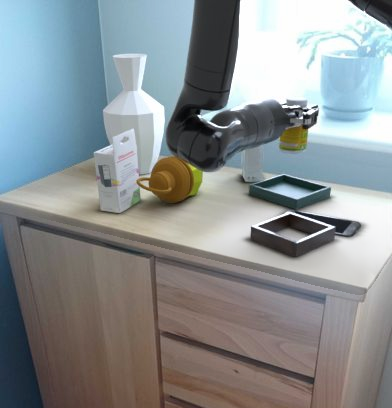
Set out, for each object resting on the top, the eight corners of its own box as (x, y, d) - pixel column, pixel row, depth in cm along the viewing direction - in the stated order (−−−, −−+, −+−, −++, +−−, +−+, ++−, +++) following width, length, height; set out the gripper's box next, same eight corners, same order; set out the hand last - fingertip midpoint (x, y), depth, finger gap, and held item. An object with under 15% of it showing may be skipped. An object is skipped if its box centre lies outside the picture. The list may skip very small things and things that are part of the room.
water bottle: (179, 182, 130) (121, 202, 110) (189, 143, 125) (129, 156, 105) (213, 196, 128) (160, 219, 108) (224, 157, 123) (170, 173, 103)
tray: (330, 196, 119) (331, 187, 118) (296, 209, 113) (297, 199, 112) (282, 182, 127) (283, 173, 126) (248, 194, 121) (249, 184, 120)
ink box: (121, 197, 120) (115, 125, 112) (141, 201, 118) (136, 127, 110) (98, 210, 114) (90, 135, 105) (119, 214, 112) (112, 137, 104)
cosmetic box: (263, 182, 128) (266, 126, 121) (243, 182, 128) (245, 126, 121) (259, 174, 133) (261, 120, 126) (240, 174, 133) (242, 120, 126)
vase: (97, 170, 137) (84, 56, 123) (143, 158, 145) (135, 50, 131) (132, 182, 129) (123, 61, 115) (179, 169, 137) (175, 55, 123)
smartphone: (350, 240, 101) (351, 235, 100) (273, 225, 107) (274, 220, 106) (362, 226, 106) (363, 221, 106) (288, 213, 112) (288, 208, 112)
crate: (334, 240, 100) (336, 226, 98) (295, 257, 94) (297, 243, 92) (288, 224, 106) (289, 211, 105) (250, 239, 100) (250, 226, 99)
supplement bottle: (303, 155, 109) (308, 101, 103) (276, 153, 110) (280, 100, 105) (308, 148, 113) (313, 97, 108) (282, 146, 114) (286, 95, 109)
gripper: (292, 105, 92) (338, 91, 103) (222, 96, 100) (272, 84, 111) (289, 152, 96) (333, 133, 108) (221, 140, 104) (269, 124, 115)
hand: (302, 108), depth 109 cm, fingers closed on supplement bottle, 5 cm apart
